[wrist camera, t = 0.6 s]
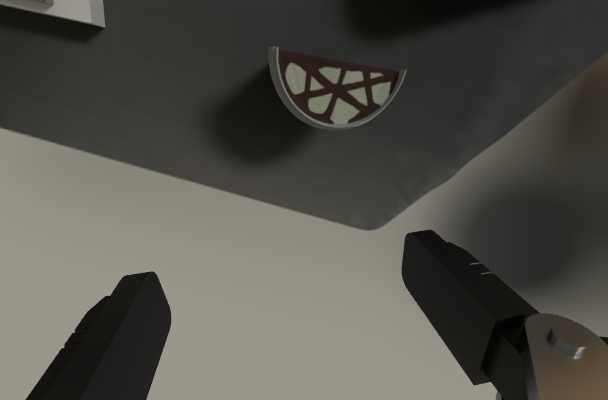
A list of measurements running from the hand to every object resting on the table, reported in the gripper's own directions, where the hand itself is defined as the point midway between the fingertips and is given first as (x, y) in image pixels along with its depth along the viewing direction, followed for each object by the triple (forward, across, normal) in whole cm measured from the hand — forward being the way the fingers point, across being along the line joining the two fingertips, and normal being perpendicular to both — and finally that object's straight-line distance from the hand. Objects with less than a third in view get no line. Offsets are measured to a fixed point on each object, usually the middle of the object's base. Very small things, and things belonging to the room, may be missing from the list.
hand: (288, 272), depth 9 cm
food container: (+28, -6, -3) cm, 28 cm away
